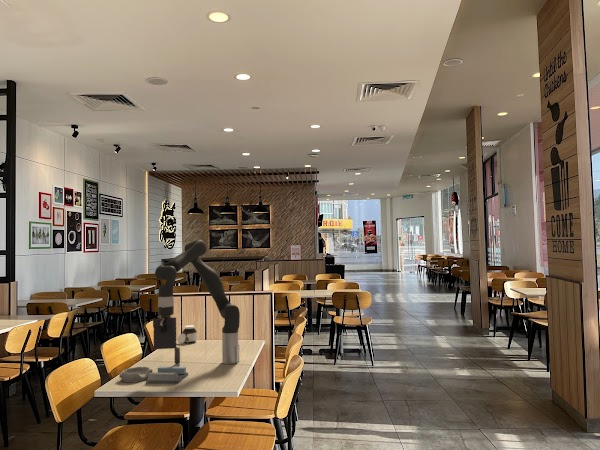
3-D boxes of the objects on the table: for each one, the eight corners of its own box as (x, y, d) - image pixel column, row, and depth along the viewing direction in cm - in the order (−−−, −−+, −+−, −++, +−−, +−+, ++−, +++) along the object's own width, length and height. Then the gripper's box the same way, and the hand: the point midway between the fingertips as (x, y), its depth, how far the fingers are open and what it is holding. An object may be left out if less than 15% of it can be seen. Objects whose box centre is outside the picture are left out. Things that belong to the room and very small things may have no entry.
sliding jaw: (165, 368, 260) (165, 347, 261) (190, 368, 259) (190, 347, 259) (157, 373, 249) (157, 351, 250) (183, 373, 248) (183, 351, 249)
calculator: (177, 347, 242) (176, 317, 244) (173, 348, 237) (173, 317, 240) (157, 348, 244) (157, 318, 246) (152, 349, 240) (152, 318, 242)
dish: (155, 376, 251) (155, 366, 251) (140, 383, 237) (140, 373, 238) (130, 375, 254) (130, 365, 254) (114, 382, 241) (114, 372, 241)
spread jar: (198, 341, 344) (198, 325, 344) (191, 345, 333) (191, 327, 333) (183, 341, 347) (183, 325, 347) (175, 344, 336) (175, 327, 336)
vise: (158, 375, 253) (158, 366, 253) (188, 375, 251) (188, 366, 251) (146, 383, 237) (146, 374, 238) (177, 383, 236) (177, 374, 236)
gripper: (163, 303, 251) (164, 337, 250) (153, 307, 238) (153, 342, 237) (177, 303, 250) (178, 337, 250) (168, 307, 237) (168, 342, 236)
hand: (166, 340), depth 243 cm, fingers closed on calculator, 1 cm apart
